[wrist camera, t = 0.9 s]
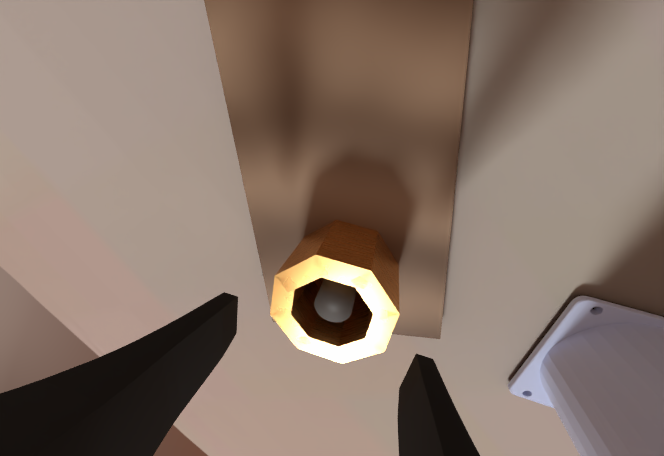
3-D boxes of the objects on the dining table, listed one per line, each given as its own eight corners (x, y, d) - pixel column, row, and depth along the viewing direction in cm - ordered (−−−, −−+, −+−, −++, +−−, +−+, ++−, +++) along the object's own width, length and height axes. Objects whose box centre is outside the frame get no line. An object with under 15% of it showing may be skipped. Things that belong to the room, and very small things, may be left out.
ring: (408, 238, 14) (412, 282, 10) (379, 317, 16) (375, 374, 13) (307, 211, 14) (278, 243, 11) (294, 290, 17) (267, 338, 13)
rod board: (437, 326, 17) (450, 394, 13) (278, 312, 19) (248, 364, 15) (496, -317, 8) (611, -811, 4) (180, -180, 10) (37, -375, 6)
